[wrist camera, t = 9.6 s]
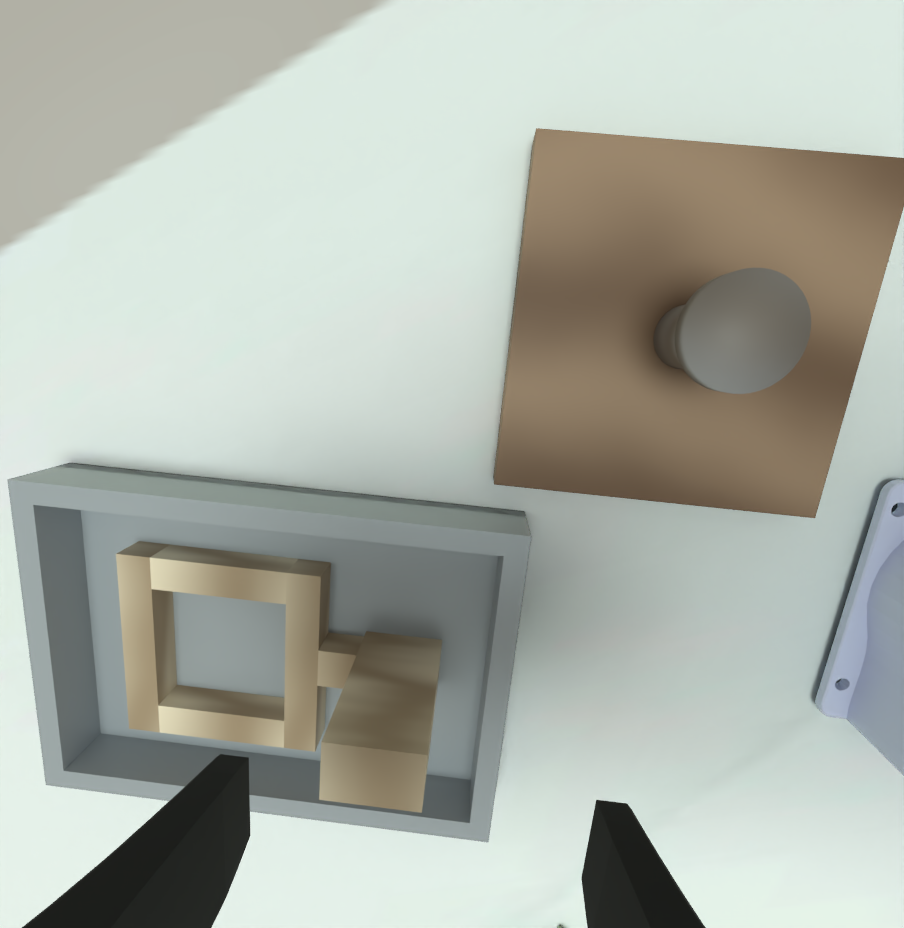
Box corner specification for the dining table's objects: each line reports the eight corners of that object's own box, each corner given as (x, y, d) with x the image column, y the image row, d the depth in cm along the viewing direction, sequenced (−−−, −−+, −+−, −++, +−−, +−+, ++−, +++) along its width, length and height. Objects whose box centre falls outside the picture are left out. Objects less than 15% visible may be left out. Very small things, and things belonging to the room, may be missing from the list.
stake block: (796, 508, 17) (906, 563, 13) (493, 477, 18) (497, 519, 13) (888, 171, 15) (1066, 93, 10) (532, 142, 15) (555, 55, 11)
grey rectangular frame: (487, 785, 21) (488, 842, 18) (95, 735, 21) (45, 784, 19) (524, 511, 18) (531, 536, 15) (69, 462, 18) (7, 479, 16)
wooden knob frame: (149, 706, 20) (29, 835, 15) (139, 541, 18) (-1, 618, 13) (432, 741, 20) (414, 885, 14) (448, 575, 18) (435, 669, 13)
